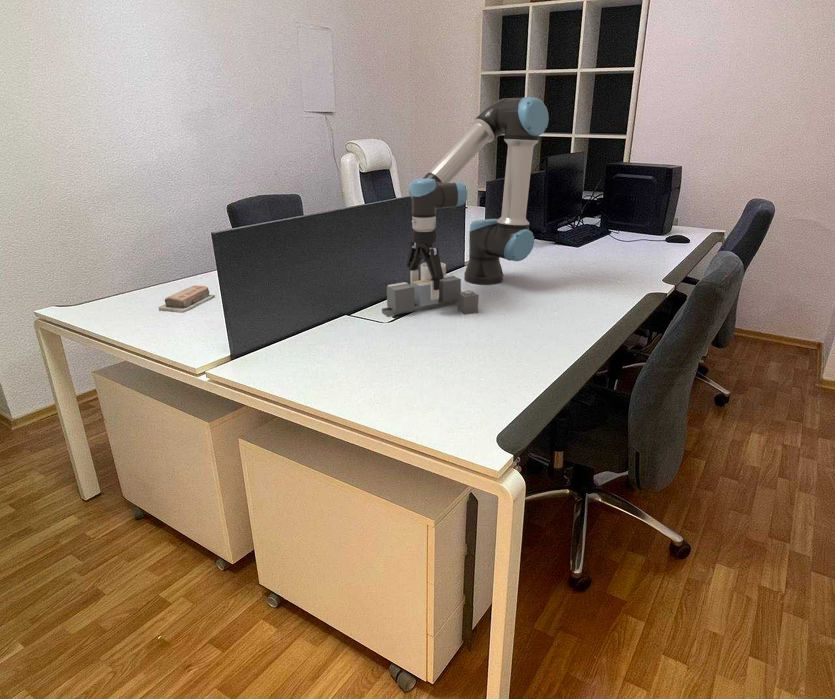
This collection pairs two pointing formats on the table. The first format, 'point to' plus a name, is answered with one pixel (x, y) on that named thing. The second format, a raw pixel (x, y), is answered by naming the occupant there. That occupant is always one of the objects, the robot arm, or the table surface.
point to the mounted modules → (404, 297)
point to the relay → (467, 302)
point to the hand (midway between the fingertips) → (424, 293)
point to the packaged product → (186, 299)
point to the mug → (426, 273)
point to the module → (423, 292)
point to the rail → (391, 312)
